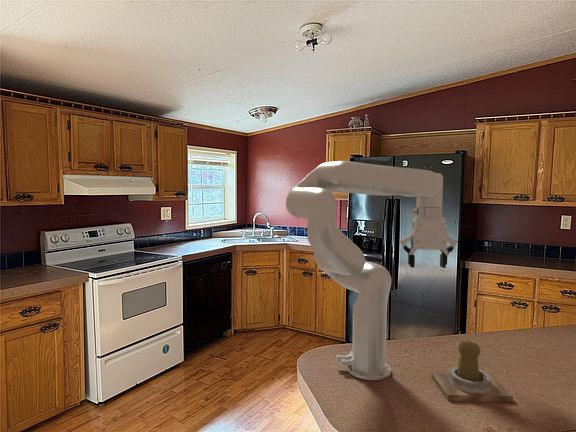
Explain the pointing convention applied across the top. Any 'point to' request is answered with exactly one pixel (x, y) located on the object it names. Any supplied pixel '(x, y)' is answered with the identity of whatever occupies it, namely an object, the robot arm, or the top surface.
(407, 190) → the robot arm
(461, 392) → the socket board
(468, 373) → the olive green peg
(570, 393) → the top surface
